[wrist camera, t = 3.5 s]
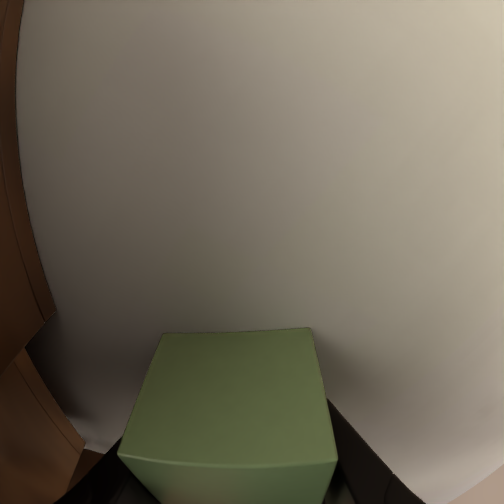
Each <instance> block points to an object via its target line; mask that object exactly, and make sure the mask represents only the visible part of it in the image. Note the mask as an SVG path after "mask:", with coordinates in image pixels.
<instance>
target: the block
mask: <svg viewBox="0 0 504 504" xmlns="http://www.w3.org/2000/svg"><path fill="white" fill-rule="evenodd" d="M117 455H118V456H119V458H120V459H121V460H122V461H123V463H124V464H125V465H126V466H127V467H128V468H129V470H130V471H131V472H132V473H133V474H134V475H135V476H136V478H137V479H138V480H139V481H140V482H141V483H142V484H143V485H144V486H145V487H146V488H147V489H148V491H149V492H150V493H151V494H152V495H153V496H154V497H155V498H156V499H157V500H158V501H159V502H160V503H161V504H322V503H323V500H324V497H325V495H326V492H327V489H328V487H329V484H330V481H331V478H332V475H333V472H334V469H335V466H336V463H337V460H338V455H337V449H336V444H335V439H334V434H333V429H332V424H331V419H330V414H329V409H328V404H327V399H326V394H325V390H324V385H323V380H322V376H321V371H320V367H319V362H318V358H317V353H316V349H315V345H314V340H313V336H312V332H311V329H310V328H297V329H283V330H267V331H248V332H222V333H164V334H163V335H162V337H161V339H160V342H159V344H158V347H157V349H156V352H155V354H154V356H153V359H152V361H151V364H150V366H149V369H148V371H147V374H146V376H145V379H144V381H143V384H142V386H141V389H140V392H139V394H138V397H137V399H136V402H135V405H134V407H133V410H132V413H131V415H130V418H129V421H128V423H127V426H126V429H125V432H124V434H123V437H122V440H121V443H120V445H119V448H118V451H117Z"/></svg>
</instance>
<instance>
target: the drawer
mask: <svg viewBox="0 0 504 504" xmlns="http://www.w3.org/2000/svg"><path fill="white" fill-rule="evenodd" d="M85 444H86V443H85V441H84V440H83V439H82V438H81V436H80V435H79V434H78V432H77V431H76V430H75V428H74V427H73V426H72V424H71V423H70V421H69V420H68V419H67V417H66V416H65V414H64V413H63V411H62V410H61V409H60V407H59V406H58V404H57V403H56V401H55V399H54V398H53V396H52V395H51V393H50V392H49V390H48V388H47V387H46V385H45V384H44V382H43V380H42V379H41V377H40V375H39V373H38V372H37V370H36V368H35V366H34V364H33V363H32V361H31V359H30V357H29V355H28V353H27V351H26V349H25V347H24V348H23V350H22V351H21V352H20V353H19V354H18V356H17V357H16V358H15V359H14V361H13V362H12V363H11V364H10V366H9V367H8V368H7V369H6V371H5V372H4V373H3V375H2V376H1V377H0V504H53V503H54V502H56V501H57V500H58V499H59V498H61V497H62V496H63V495H64V494H65V493H67V492H68V491H69V490H70V489H71V488H72V487H73V486H74V485H75V484H76V483H78V482H79V481H80V480H81V479H82V477H83V476H84V475H85V474H87V472H88V471H89V470H90V469H91V468H92V467H93V466H94V465H95V464H96V463H97V462H98V461H99V460H100V459H101V458H102V457H103V456H104V455H105V454H103V453H99V452H95V451H91V450H88V449H84V446H85Z"/></svg>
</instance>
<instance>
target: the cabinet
mask: <svg viewBox="0 0 504 504" xmlns="http://www.w3.org/2000/svg"><path fill="white" fill-rule="evenodd" d="M23 2H24V0H0V377H1V376H2V375H3V373H4V372H5V371H6V369H7V368H8V367H9V366H10V364H11V363H12V362H13V361H14V359H15V358H16V357H17V356H18V354H19V353H20V352H21V351H22V350H23V348H24V347H25V346H26V345H27V344H28V342H29V341H30V340H31V339H32V338H33V336H34V335H35V334H36V333H37V332H38V331H39V329H40V328H41V327H42V326H43V325H44V322H46V321H47V320H48V319H49V318H50V317H51V316H52V315H53V314H54V312H55V311H56V307H55V305H54V302H53V299H52V297H51V294H50V291H49V288H48V285H47V282H46V279H45V276H44V273H43V269H42V266H41V263H40V259H39V256H38V252H37V249H36V245H35V241H34V237H33V233H32V229H31V225H30V220H29V216H28V211H27V206H26V201H25V196H24V190H23V184H22V177H21V170H20V163H19V154H18V144H17V132H16V113H15V74H16V56H17V44H18V35H19V27H20V20H21V13H22V8H23Z"/></svg>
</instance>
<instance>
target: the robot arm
mask: <svg viewBox="0 0 504 504" xmlns="http://www.w3.org/2000/svg"><path fill="white" fill-rule="evenodd" d="M326 399H327V404H328V409H329V414H330V419H331V424H332V429H333V434H334V439H335V444H336V449H337V455H338V460H337V463H336V466H335V469H334V472H333V475H332V478H331V481H330V484H329V487H328V489H327V492H326V495H325V497H324V500H323V503H322V504H426V503H425V502H423V501H422V500H421V499H420V498H419V497H417V496H416V495H415V494H414V493H413V492H412V491H411V490H410V489H408V488H407V487H406V486H405V485H404V484H403V483H402V482H401V480H400V479H399V478H398V477H397V476H396V475H395V474H393V472H392V471H391V470H390V469H389V467H388V466H387V465H386V464H385V463H384V462H383V461H382V460H381V459H380V458H379V456H378V455H377V454H376V453H375V452H374V451H373V450H372V449H371V447H370V446H369V445H368V444H367V443H366V442H365V441H364V440H363V438H362V437H361V436H360V435H359V434H358V433H357V432H356V430H355V429H354V428H353V427H352V426H351V425H350V424H349V422H348V421H347V420H346V419H345V418H344V417H343V416H342V414H341V413H340V412H339V411H338V410H337V409H336V407H335V406H334V405H333V404H332V403H331V402H330V400H329V399H328V398H326ZM122 437H123V436H122ZM122 437H121V438H120V439H119V440H118V441H117V442H116V443H115V444H114V445H113V446H112V447H111V448H110V449H109V451H108V452H107V453H106V454H105V455H104V456H103V457H102V458H101V459H100V460H99V461H98V462H97V463H96V464H95V465H94V466H93V467H92V468H91V469H90V470H89V471H88V472H87V474H85V475H84V476H83V477H82V479H81V480H80V481H79V482H78V483H76V484H75V485H74V486H73V487H72V488H71V489H70V490H69V491H68V492H67V493H65V494H64V495H63V496H62V497H61V498H59V499H58V500H57V501H56V502H54V503H53V504H161V503H160V502H159V501H158V500H157V499H156V498H155V497H154V496H153V495H152V494H151V493H150V492H149V491H148V489H147V488H146V487H145V486H144V485H143V484H142V483H141V482H140V481H139V480H138V479H137V478H136V476H135V475H134V474H133V473H132V472H131V471H130V470H129V468H128V467H127V466H126V465H125V464H124V463H123V461H122V460H121V459H120V458H119V456H118V455H117V451H118V448H119V445H120V443H121V440H122Z"/></svg>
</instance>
